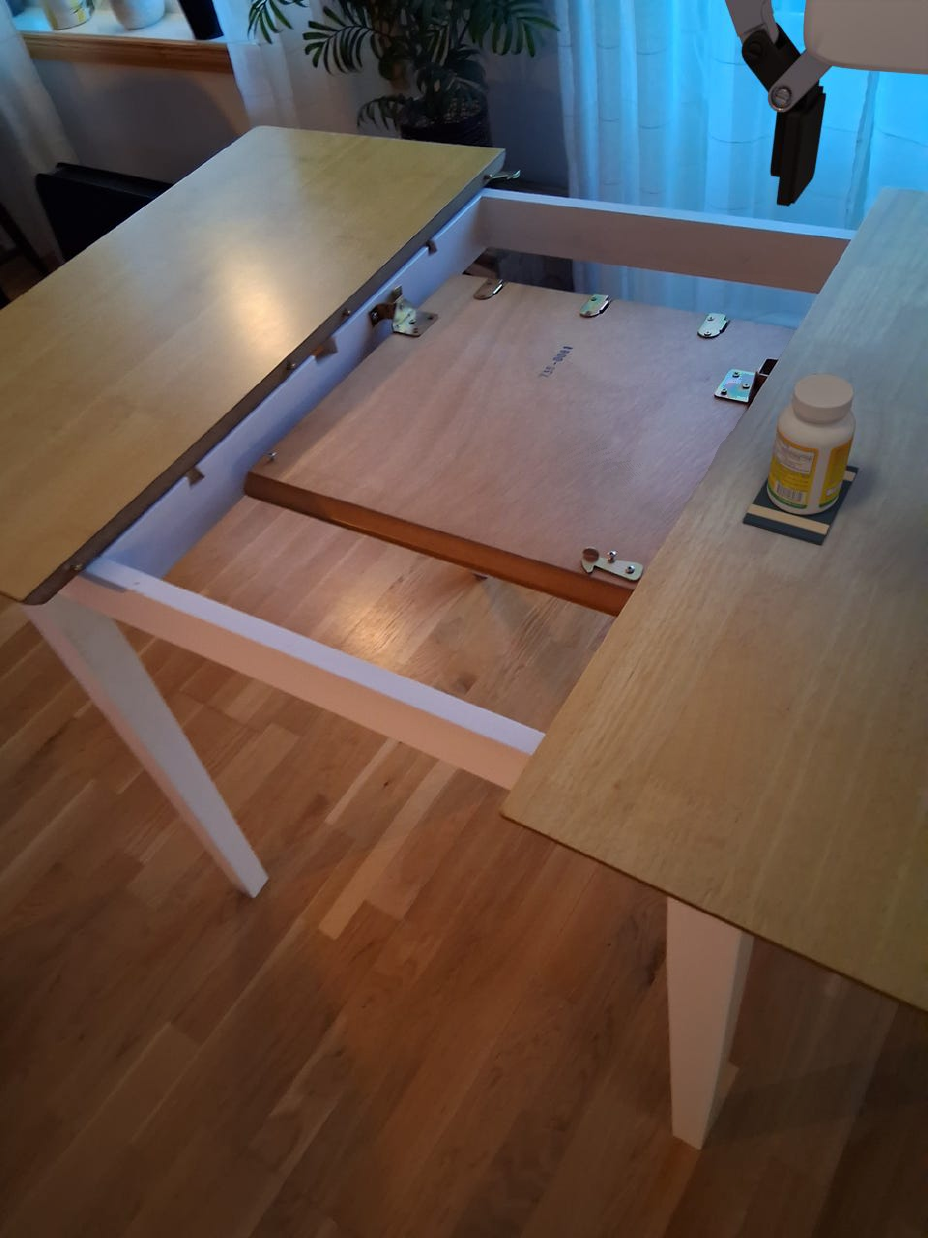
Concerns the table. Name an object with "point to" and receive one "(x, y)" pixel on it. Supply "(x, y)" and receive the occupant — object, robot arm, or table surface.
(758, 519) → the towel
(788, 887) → the table surface
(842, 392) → the supplement bottle
